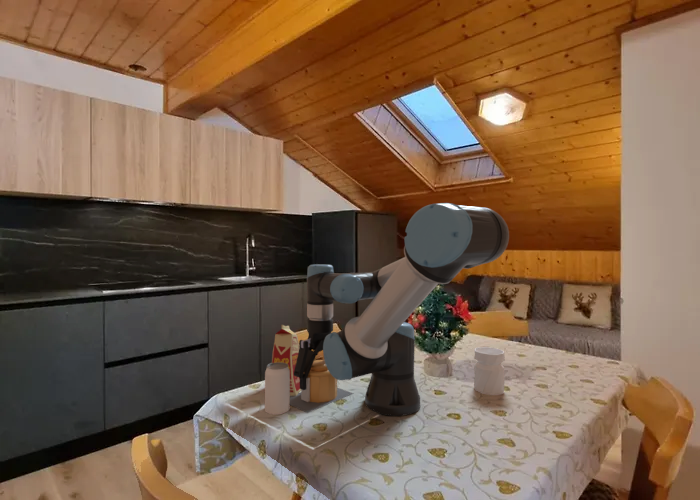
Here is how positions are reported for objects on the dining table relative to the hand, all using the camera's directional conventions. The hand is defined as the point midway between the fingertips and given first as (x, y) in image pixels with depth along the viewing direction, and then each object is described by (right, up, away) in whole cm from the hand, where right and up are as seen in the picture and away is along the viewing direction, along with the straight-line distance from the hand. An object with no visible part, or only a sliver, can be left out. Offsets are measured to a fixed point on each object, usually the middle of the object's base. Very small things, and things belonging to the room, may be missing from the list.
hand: (319, 394), depth 114 cm
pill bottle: (+51, -1, +6) cm, 51 cm away
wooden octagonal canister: (0, 0, 0) cm, 0 cm away
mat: (-1, -1, -1) cm, 1 cm away
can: (-10, -1, -9) cm, 14 cm away
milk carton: (-10, 0, +5) cm, 12 cm away
